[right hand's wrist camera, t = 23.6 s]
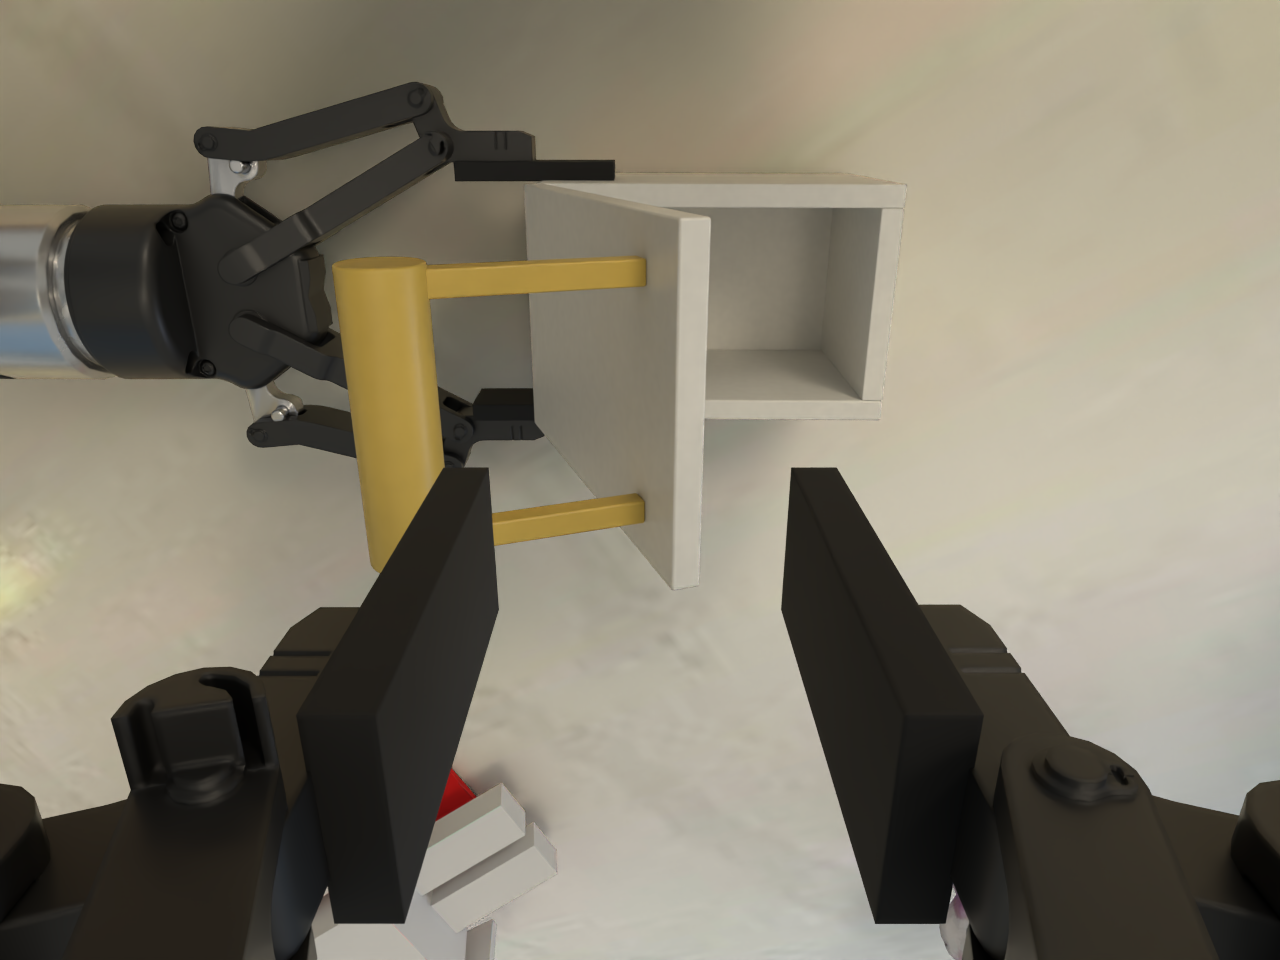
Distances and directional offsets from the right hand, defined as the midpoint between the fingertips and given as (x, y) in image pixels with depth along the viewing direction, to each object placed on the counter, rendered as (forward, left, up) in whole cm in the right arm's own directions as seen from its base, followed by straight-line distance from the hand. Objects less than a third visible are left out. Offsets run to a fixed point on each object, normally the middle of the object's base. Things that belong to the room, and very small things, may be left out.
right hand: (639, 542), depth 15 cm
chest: (-1, +3, -32) cm, 32 cm away
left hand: (0, -1, -25) cm, 25 cm away
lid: (0, -1, -14) cm, 14 cm away
